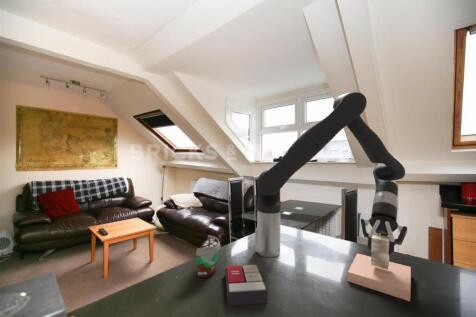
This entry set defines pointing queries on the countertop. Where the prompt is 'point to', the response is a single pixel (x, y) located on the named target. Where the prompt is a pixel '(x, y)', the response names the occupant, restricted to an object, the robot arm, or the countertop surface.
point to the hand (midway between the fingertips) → (380, 252)
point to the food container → (208, 257)
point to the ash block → (380, 251)
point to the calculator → (245, 285)
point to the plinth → (381, 277)
